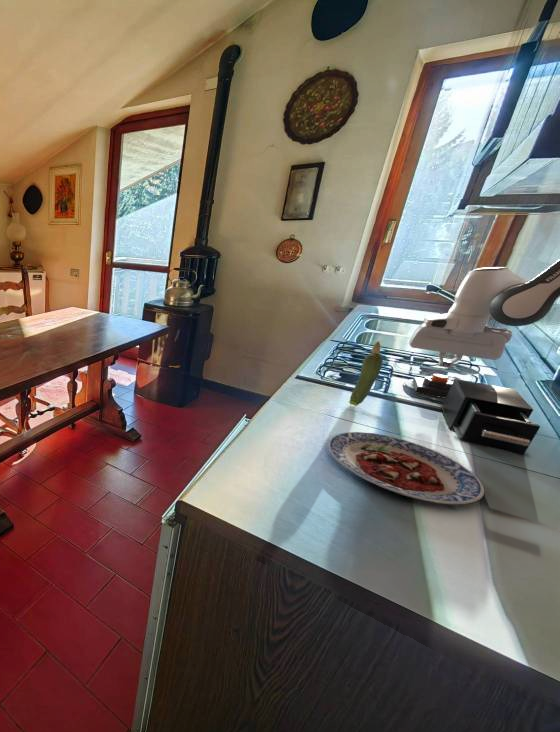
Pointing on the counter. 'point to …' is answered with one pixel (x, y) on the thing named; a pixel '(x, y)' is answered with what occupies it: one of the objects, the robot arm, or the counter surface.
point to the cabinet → (479, 399)
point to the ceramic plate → (406, 468)
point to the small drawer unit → (496, 427)
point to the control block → (431, 386)
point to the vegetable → (367, 375)
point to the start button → (440, 378)
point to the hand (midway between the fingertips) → (444, 366)
